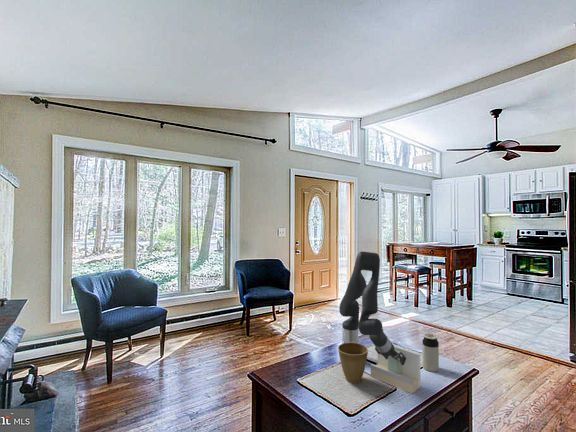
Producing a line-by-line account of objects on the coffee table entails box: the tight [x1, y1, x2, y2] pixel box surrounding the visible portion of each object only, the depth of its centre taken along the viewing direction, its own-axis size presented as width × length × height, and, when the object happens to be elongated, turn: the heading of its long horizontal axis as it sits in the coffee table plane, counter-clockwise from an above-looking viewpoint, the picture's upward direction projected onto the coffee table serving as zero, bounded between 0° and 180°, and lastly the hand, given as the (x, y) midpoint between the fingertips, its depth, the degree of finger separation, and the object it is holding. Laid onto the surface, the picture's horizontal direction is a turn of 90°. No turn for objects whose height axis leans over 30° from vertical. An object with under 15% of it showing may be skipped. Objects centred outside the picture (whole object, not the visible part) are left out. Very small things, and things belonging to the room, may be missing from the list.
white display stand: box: [370, 344, 421, 394], centre depth 157 cm, size 9×22×16 cm, turn 44°
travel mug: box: [422, 332, 440, 373], centre depth 169 cm, size 8×8×18 cm
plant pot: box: [337, 342, 369, 384], centre depth 159 cm, size 15×15×16 cm
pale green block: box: [388, 350, 401, 374], centre depth 157 cm, size 4×4×11 cm
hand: (395, 360), depth 157 cm, fingers open, 8 cm apart
